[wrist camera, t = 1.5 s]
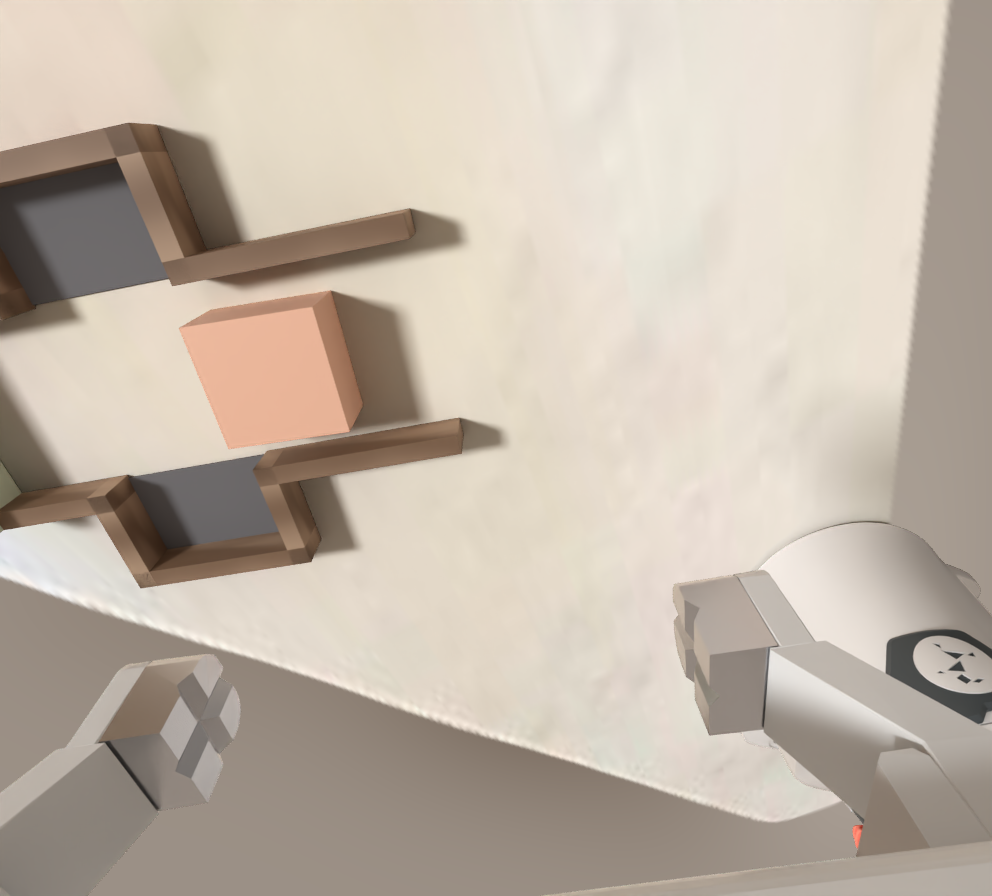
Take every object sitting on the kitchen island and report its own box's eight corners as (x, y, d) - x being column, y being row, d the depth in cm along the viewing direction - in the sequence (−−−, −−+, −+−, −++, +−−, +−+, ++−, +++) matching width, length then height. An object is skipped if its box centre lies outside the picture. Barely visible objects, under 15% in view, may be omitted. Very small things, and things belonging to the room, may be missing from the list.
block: (363, 403, 36) (349, 431, 32) (254, 419, 36) (228, 449, 33) (332, 289, 33) (312, 306, 29) (212, 308, 33) (178, 327, 30)
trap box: (482, 513, 39) (480, 550, 36) (61, 580, 42) (21, 620, 38) (378, 74, 28) (361, 64, 24) (-193, 203, 30) (-285, 210, 27)
